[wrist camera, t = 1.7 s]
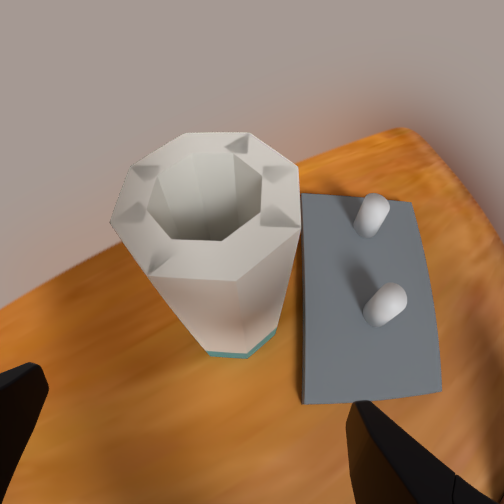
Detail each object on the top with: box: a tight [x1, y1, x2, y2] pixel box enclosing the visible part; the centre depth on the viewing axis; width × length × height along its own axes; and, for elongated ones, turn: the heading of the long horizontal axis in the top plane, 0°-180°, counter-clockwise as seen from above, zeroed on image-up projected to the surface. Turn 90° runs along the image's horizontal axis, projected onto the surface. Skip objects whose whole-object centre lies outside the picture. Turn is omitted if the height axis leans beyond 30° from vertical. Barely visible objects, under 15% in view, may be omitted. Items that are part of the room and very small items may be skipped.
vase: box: [110, 132, 301, 359], centre depth 15 cm, size 6×6×13 cm
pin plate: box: [300, 193, 442, 404], centre depth 20 cm, size 16×10×4 cm, turn 177°
